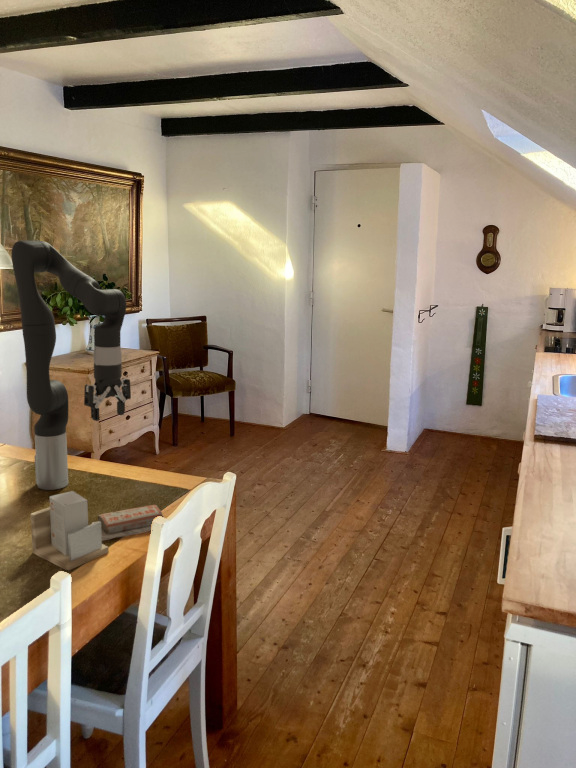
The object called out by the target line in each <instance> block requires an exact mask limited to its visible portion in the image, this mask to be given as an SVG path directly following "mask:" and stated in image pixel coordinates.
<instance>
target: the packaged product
mask: <svg viewBox="0 0 576 768" xmlns="http://www.w3.org/2000/svg"><path fill="white" fill-rule="evenodd" d="M157 516H162V517H164V515H163V512H162V511H161V509H160V508H159V506H158V505H156V504H152V505H151V504H150V505H145V506H138V507H133V508H127V509H122V510H118V511H111V512H105V513H101V514H98V515H97V521H93V522H91V524H93V523H96V522H98V521H100V522H101V533H102V542H103V541H108V540H112V539H115V538H123V537H128V536H135V535H139V534H143V532H144V533H147V531H148V532H151V531H150V530H151V524H152V521H153V519H154V518H155V517H157ZM164 518H165V517H164Z"/></svg>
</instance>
